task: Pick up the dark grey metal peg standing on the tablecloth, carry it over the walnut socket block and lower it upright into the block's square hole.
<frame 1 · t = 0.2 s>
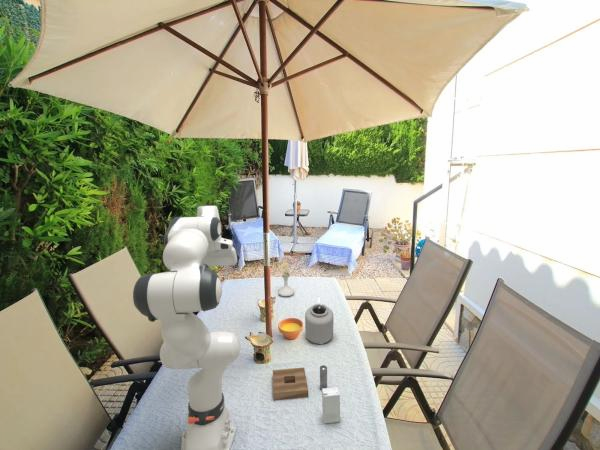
hand: (213, 275, 134), 48 cm above the table, fingers open, 8 cm apart
jar: (319, 340, 171), on the table
socket block: (289, 386, 137), on the table
peg: (323, 388, 136), on the table
flower in vase: (286, 295, 226), on the table
skincare box: (331, 419, 120), on the table
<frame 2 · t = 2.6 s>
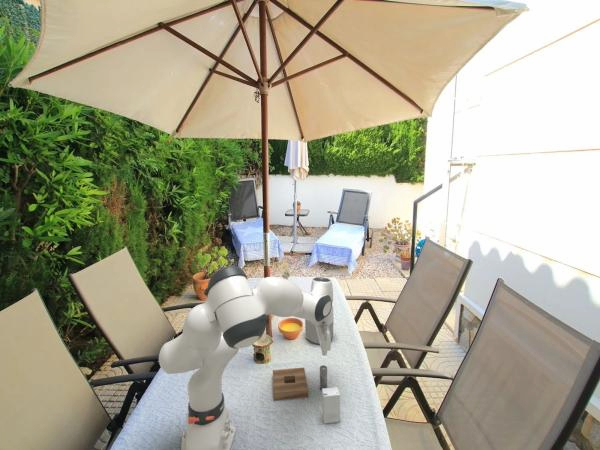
hand: (322, 347, 131), 20 cm above the table, fingers open, 8 cm apart
nothing on the table moved.
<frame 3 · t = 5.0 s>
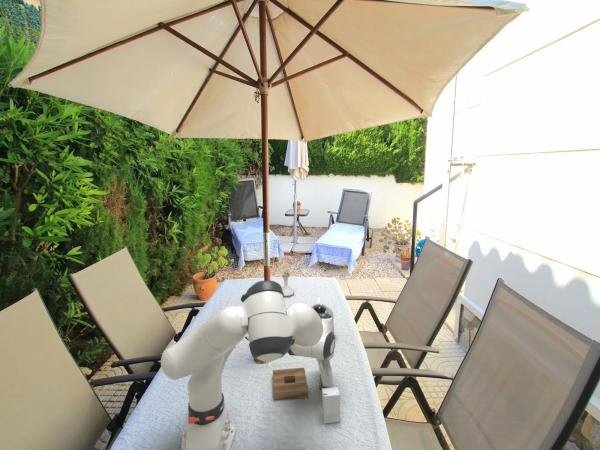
hand: (323, 380, 135), 4 cm above the table, fingers closed on peg, 3 cm apart
peg: (323, 388, 136), on the table, touching gripper
everything else where it was.
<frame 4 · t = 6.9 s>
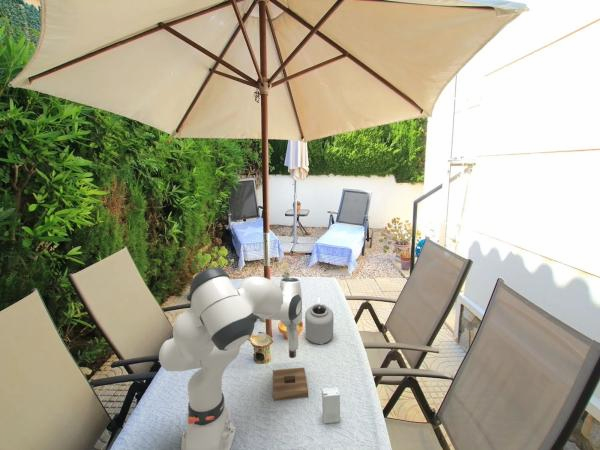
hand: (292, 346, 133), 19 cm above the table, fingers closed on peg, 3 cm apart
peg: (292, 355, 134), point 15 cm above the table, touching gripper
everything else where it was.
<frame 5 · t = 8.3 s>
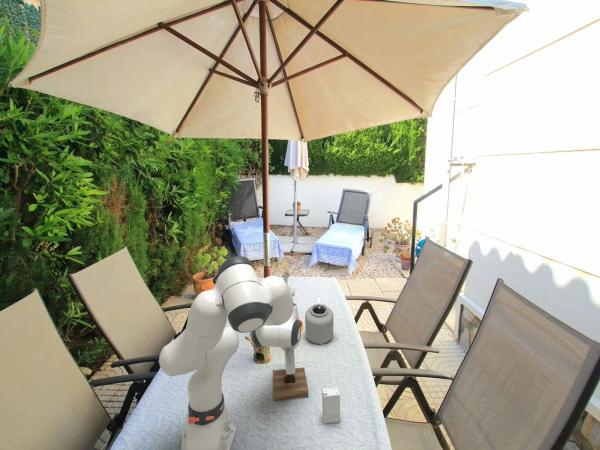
hand: (289, 369, 135), 9 cm above the table, fingers closed on peg, 3 cm apart
peg: (290, 377, 136), point 4 cm above the table, touching gripper
everything else where it was.
when the fingers open (6 cm above the table, at t = 9.1 s): peg drops 1 cm, resting in socket block.
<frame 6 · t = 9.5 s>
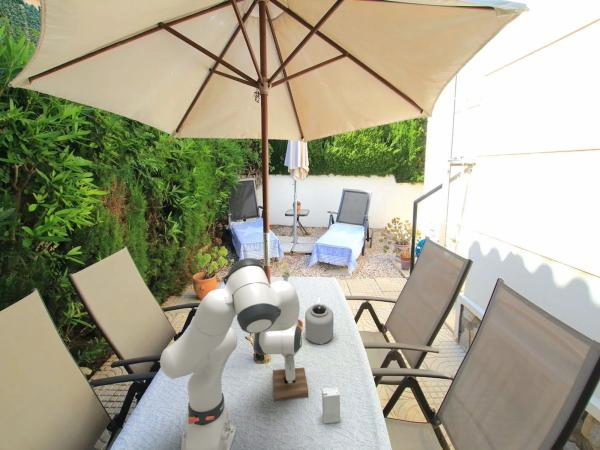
hand: (289, 375, 136), 6 cm above the table, fingers open, 7 cm apart
peg: (290, 386, 137), resting in socket block
everything else where it was.
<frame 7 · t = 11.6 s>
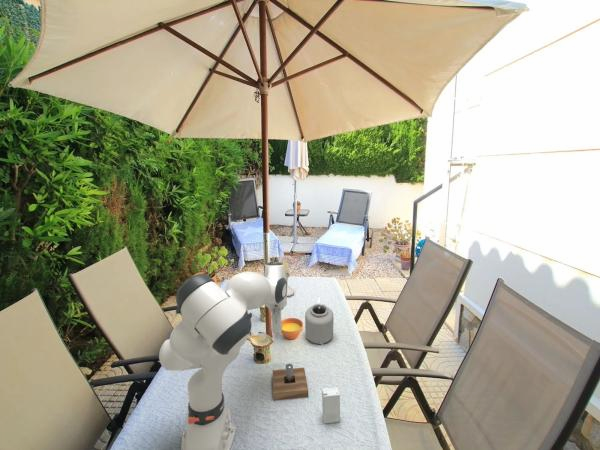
hand: (277, 331, 134), 25 cm above the table, fingers open, 8 cm apart
nothing on the table moved.
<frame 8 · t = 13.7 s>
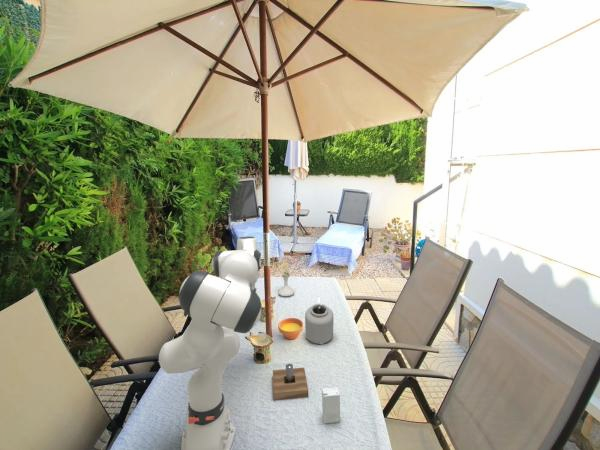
hand: (250, 304, 138), 34 cm above the table, fingers open, 8 cm apart
nothing on the table moved.
at the end: peg 0.1 cm off-centre on the socket block, point 0.0 cm above the socket block's base; peg tilted 0°; the gripper is holding nothing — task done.
